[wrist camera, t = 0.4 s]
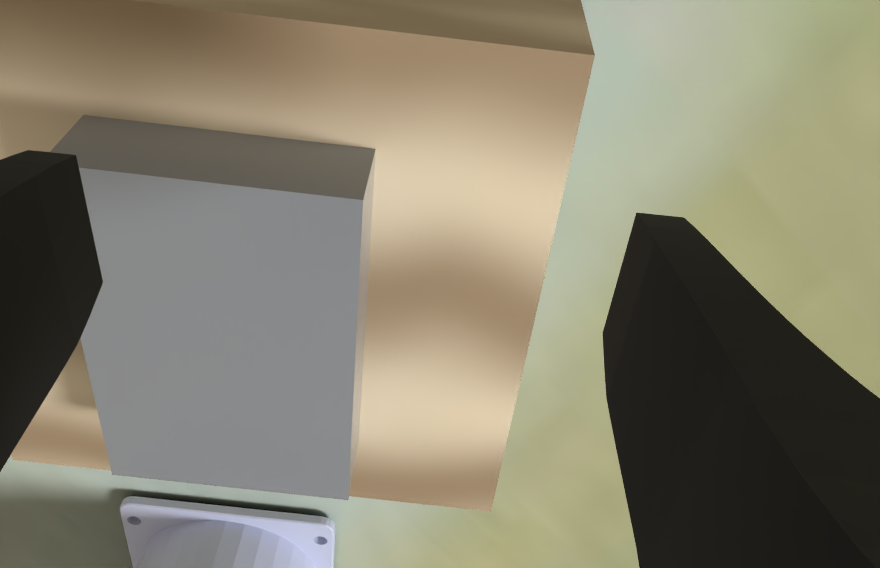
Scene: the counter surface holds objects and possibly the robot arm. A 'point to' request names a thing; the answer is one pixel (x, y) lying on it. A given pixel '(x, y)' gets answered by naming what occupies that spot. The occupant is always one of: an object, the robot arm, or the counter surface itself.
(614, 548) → the counter surface
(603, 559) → the counter surface
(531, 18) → the birch deck
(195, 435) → the slate tile
